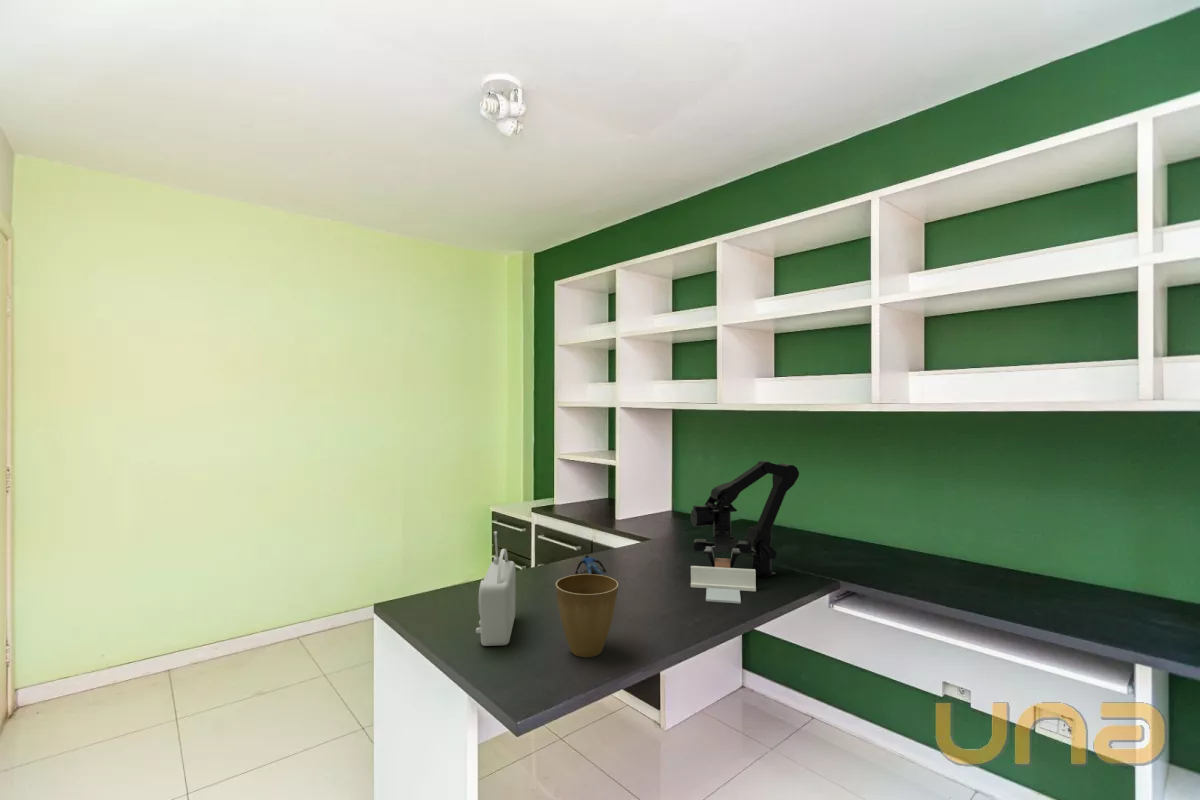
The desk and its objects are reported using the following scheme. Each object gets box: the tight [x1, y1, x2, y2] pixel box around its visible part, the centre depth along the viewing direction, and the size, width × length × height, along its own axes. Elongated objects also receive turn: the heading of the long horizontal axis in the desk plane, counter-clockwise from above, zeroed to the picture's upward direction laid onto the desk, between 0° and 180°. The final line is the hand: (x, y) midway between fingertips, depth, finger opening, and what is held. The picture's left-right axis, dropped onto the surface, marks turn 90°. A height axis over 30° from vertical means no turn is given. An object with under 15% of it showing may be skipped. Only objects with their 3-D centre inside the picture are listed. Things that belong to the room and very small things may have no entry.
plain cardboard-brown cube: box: [714, 557, 731, 568], centre depth 182 cm, size 5×5×5 cm
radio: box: [475, 530, 516, 647], centre depth 140 cm, size 22×8×25 cm, turn 4°
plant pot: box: [555, 573, 619, 658], centre depth 129 cm, size 15×15×16 cm
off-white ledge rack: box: [690, 565, 757, 592], centre depth 173 cm, size 4×20×6 cm, turn 78°
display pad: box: [705, 588, 742, 604], centre depth 164 cm, size 10×10×1 cm
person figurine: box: [574, 554, 607, 576], centre depth 186 cm, size 11×4×18 cm
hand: (722, 571), depth 182 cm, fingers closed on plain cardboard-brown cube, 5 cm apart
